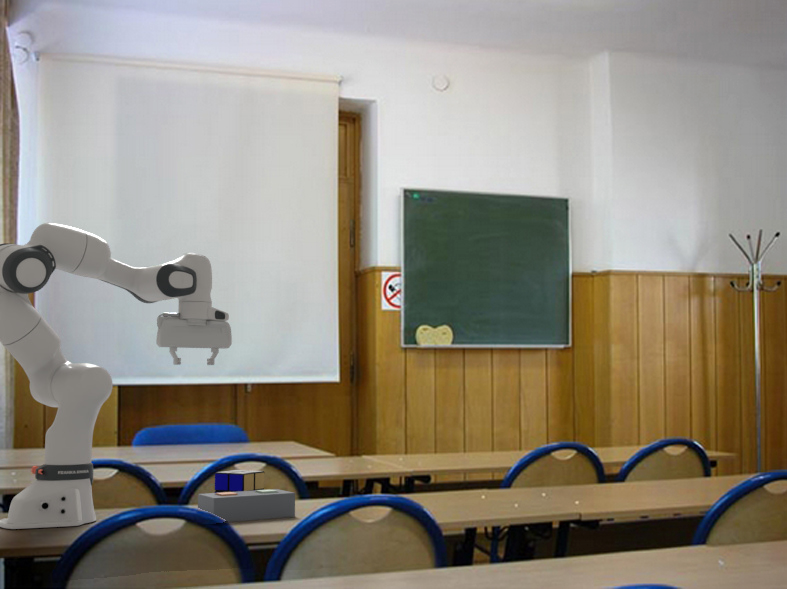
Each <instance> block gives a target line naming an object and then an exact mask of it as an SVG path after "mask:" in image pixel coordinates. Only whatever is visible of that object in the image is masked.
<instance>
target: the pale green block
mask: <svg viewBox="0 0 787 589" xmlns="http://www.w3.org/2000/svg"><path fill="white" fill-rule="evenodd" d="M256 492H257V493H261V494H263V493H277V491H276V490H271V489H270V488H269V489H264V490H256Z"/></svg>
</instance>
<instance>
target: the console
mask: <svg viewBox="0 0 787 589" xmlns="http://www.w3.org/2000/svg"><path fill="white" fill-rule="evenodd" d="M271 490H276V491H277V493H263V494H261V493H257V492H256V490H254V491H238V492H234V493H238V495H232V496H218V495H216V493H215V492H211V493H210V492H207V493H198V494H197V509H198V508H200V509H202V510H205V511H208V512H211V513H213V514H215V515H217V516H219V517H221V518H223V519H225V520H226V521H228V522H227V523H230V522H232V523H233V522H243V521H244V522H245V521H256V520H257V521H258V520H269V519H270V520H271V519H281V518H291V517H293V518H294V517H296V492H294V491H293V492H292V491H287V490H284V489H278V488H273V489H271Z"/></svg>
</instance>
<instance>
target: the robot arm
mask: <svg viewBox="0 0 787 589" xmlns="http://www.w3.org/2000/svg"><path fill="white" fill-rule="evenodd" d="M111 254H112V252H111V247H110V245H109V244H108V242H107V240H105V239H103V238H101V237H100V236H98V235H96V234H94V233H91V232H89V231H86V230H83V229H79V228H77V227H74V226H73V227H72V226H71V225H70V226H69V225H66V224H60V223H54V222H45V223H44V222H43V223H41V224H40V225H38V226H37V227H36V228H35V229H34V230H33V232H32V234H31V236H30V239H29V240H28V242H27V243H25V244H18V243H17V244H14V243H9V242H8V243H6V242H5V243H0V343H1V345H3V347H4V348H5V349H6V350H7V351H8V352H9V353H10V354H11V356H12V357H13V358H14V359H15V360H16V362H18V364H19V365H20V366H21V368H22V369H23V371H24V373H25V374H26V376H27V379H28V381H29V391H30V395H31V396H32V398H33V399H34V400H35V401H36V402H38V403H40V404H42V405H45V406H47V407H51V408H57V411H56V413H55V414H56V415H55V417H54V420H53V422H52V424H51V426H50V427H49V428H47V430H46V433H45V439H44V440H45V444H44V464H42V465H40V466H37V465H33V466H32V467H31V468H30V473H31V474H33V475H35V476H34V478H35V480H34V481H33V482H32V483H30V484H29V485H28V486H26V487H24V489H23V490H21V491H20V492H19V493H17V494H15V496H13V498H12V500H11V502H10V505H9V510H8V515H7V518H1V519H0V528H1V529H2V528H3V529H7V530H8V529H10V530H16V529H17V530H20V529H39V528H57V527H58V528H60V527H78V526H81V525H84V524H88V523H93V522H95V521H97V516H96V512H95V507H94V500H93V491H92V489H93V488H92V486H93V484H94V483H93V482H94V463H92V459H93V458H92V455H93V454H92V453H93V451H92V450H93V436H94V429H95V425H96V421H97V418H98V416H99V414H100V411H101V408H102V406H103V404H104V403H105V402H106V401H107V400H108V399H109V398H110V396H111V395H112V391H113V387H114V386H113V384H114V383H113V378H112V376H111V373H109V371H108V370H107V369H105V368H104V367H102V366H99V365H97V364H93V363H89V362H83V363H82V362H80V363H78V362H77V363H72V362H70V361H69V360H68V359H67V358H66V357H65V355H64V354H63V352H62V350H61V346H62V342H61V338H60V336H59V335H58V333H57V332H56V331H55V330H54V329H53V327H52V326H51V325H50V324H49V323H48V321H47V320H46V319H45V318H44V317H43V315H42V314H40V312H39V311H38V310H37V309H36V308H35V307H34V306H33V304H32V302H31V300H30V298H29V294H33V293H37V292H39V291H40V290H42V288H44V287H45V286H46V284H47V283H48V282H49V279H50V278H51V276H52V274H53V272H54V271H55V270H59V271H62V272H65V273H69V274H72V275H75V276H79V277H84V278H90V279H96V280H99V281H102V282H104V283H107V284H110V285H112V286H115V287H118V288H120V289H124V290H125V291H127V292H128V293H129V294H131V295H132V296H133V297H134V298H135V299H137V300H138V301H140V302H141V303H144V304H155V303H157V302H161V301H169V300H172V299H174V300H175V299H177V300H178V310H177V311H178V312H162V313H160V314H159V315H158V316H157V318H156V325H157V326H156V327H157V333H156V345H157V346H158V347H159V348H169V353H170V355H171V357H172V359H173V363H172V364H173V365H174V366H175V365H176V366H177V365H178V366H179V365H181V364H182V362H181V361H182V358H181V357H178V354H177V353H176V352H178V348H180V349H181V348H183V349H184V348H185V349H189V348H190V349H210V352H211V353H212V354H211V355H210V358H206V364H207V366H215V359H216V358H217V356H218V354H219V351H220V349H221V350H222V349H229V348H230V347H231V345H232V342H233V338H232V336H233V335H232V327H231V324H230V323H229V322H228V320H229V319H230V316H229V314H230V313H228V312H225V311H223V310H220V309H218V308H215V307H214V306H213V305H212V304H213V303H212V302H213V301H212V297H211V293H212V290H213V273H212V272H213V270H212V264H211V261H210V260H209V257H206V255H203V254H199V253H194V252H188V253H187V252H186V253H183V254H182V255H181V256H180V257H178V258H175V259H174V260H170V261H168V262H165V263H161V264H157V265H149V266H142V267H141V266H140V267H135V266H131V265H129V264H126V263H124V262H121V261H119V260H116V259H114V258H112V256H111Z"/></svg>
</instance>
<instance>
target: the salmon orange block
mask: <svg viewBox="0 0 787 589" xmlns="http://www.w3.org/2000/svg"><path fill="white" fill-rule="evenodd" d="M216 495H218V496H232V495H238V493H234V492H222V493H216Z"/></svg>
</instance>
